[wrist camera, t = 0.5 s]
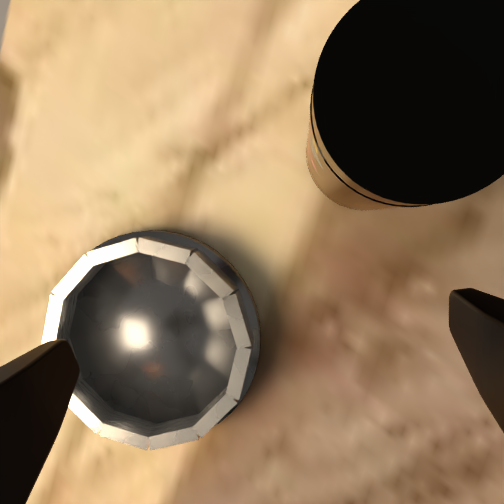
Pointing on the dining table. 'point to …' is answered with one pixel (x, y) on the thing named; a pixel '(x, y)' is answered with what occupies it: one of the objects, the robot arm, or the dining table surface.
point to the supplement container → (409, 103)
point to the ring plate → (156, 337)
